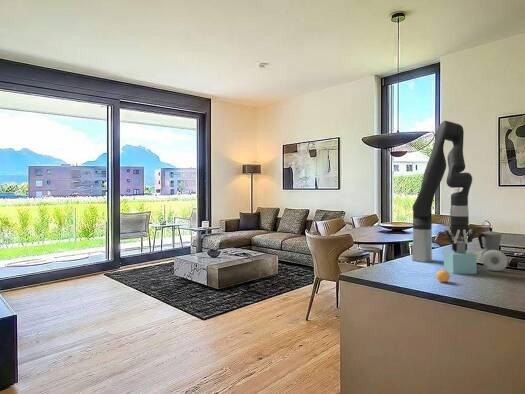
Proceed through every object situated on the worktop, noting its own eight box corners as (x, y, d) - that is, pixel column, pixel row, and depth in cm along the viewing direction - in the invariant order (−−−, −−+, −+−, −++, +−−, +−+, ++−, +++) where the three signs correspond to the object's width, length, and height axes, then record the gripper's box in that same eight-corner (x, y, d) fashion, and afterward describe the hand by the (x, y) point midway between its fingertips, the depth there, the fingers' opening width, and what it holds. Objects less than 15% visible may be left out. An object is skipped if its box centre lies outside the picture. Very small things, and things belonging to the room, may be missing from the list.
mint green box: (453, 273, 161) (452, 243, 160) (443, 268, 171) (443, 240, 170) (476, 273, 160) (476, 243, 159) (465, 268, 170) (465, 240, 169)
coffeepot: (491, 259, 189) (491, 226, 188) (508, 262, 180) (508, 227, 179) (470, 261, 183) (470, 227, 183) (487, 265, 175) (487, 229, 174)
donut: (507, 271, 162) (507, 250, 161) (507, 273, 159) (507, 251, 159) (482, 268, 168) (482, 248, 168) (481, 270, 166) (481, 249, 165)
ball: (435, 282, 147) (435, 270, 147) (437, 279, 151) (437, 268, 151) (448, 284, 144) (448, 272, 144) (450, 281, 148) (450, 269, 148)
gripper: (447, 215, 161) (447, 252, 162) (479, 215, 160) (479, 252, 160) (440, 214, 169) (440, 249, 169) (471, 214, 167) (471, 249, 168)
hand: (459, 251), depth 165 cm, fingers closed on mint green box, 3 cm apart
